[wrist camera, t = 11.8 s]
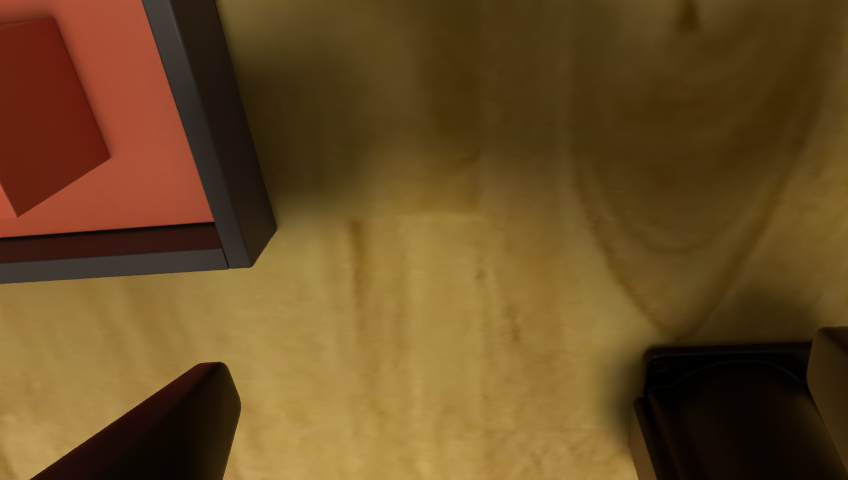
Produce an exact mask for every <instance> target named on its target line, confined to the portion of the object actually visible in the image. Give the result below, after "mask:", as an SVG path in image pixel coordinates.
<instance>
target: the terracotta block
mask: <svg viewBox="0 0 848 480" xmlns="http://www.w3.org/2000/svg"><path fill="white" fill-rule="evenodd" d="M109 159H110V156H109V153H108V151H107V148H106V146H105V143H104V141H103V138H102V136H101V133H100V131H99V128H98V126H97V123H96V121H95V118H94V116H93V113H92V111H91V108H90V106H89V103H88V101H87V98H86V96H85V94H84V91H83V89H82V86H81V84H80V81H79V79H78V76H77V74H76V71H75V69H74V66H73V64H72V61H71V59H70V56H69V54H68V51H67V49H66V46H65V44H64V41H63V39H62V37H61V34H60V32H59V29H58V27H57V24H56V22H55V19H54V18H52V17H51V18H43V19H35V20H28V21H20V22H12V23H5V24H0V219H12V218H18V217H20V216H21V215H23V214H24V213H26V212H28V211H29V210H31V209H32V208H34V207H35V206H37V205H38V204H40V203H42V202H43V201H45V200H46V199H48V198H49V197H51V196H53V195H54V194H56V193H57V192H59V191H60V190H62V189H63V188H65V187H67V186H68V185H70V184H71V183H73V182H74V181H76V180H77V179H79V178H81V177H82V176H84V175H85V174H87V173H88V172H90V171H92V170H93V169H95V168H96V167H98V166H99V165H101V164H102V163H104V162H106V161H107V160H109Z"/></svg>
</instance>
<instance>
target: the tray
mask: <svg viewBox="0 0 848 480" xmlns="http://www.w3.org/2000/svg"><path fill="white" fill-rule="evenodd" d="M51 17H52V18H54V19H55V22H56V24H57V27H58V29H59V32H60V34H61V37H62V39H63V41H64V44H65V46H66V49H67V51H68V54H69V56H70V59H71V61H72V64H73V66H74V69H75V71H76V74H77V76H78V79H79V81H80V84H81V86H82V89H83V91H84V94H85V96H86V98H87V101H88V103H89V106H90V108H91V111H92V113H93V116H94V118H95V121H96V123H97V126H98V128H99V131H100V133H101V136H102V138H103V141H104V143H105V146H106V148H107V151H108V153H109V156H110V159H109V160H107V161H106V162H104V163H102V164H101V165H99V166H98V167H96V168H95V169H93V170H92V171H90V172H88V173H87V174H85V175H84V176H82V177H81V178H79V179H77V180H76V181H74V182H73V183H71V184H70V185H68V186H67V187H65V188H63V189H62V190H60V191H59V192H57V193H56V194H54V195H53V196H51V197H49V198H48V199H46V200H45V201H43V202H42V203H40V204H38V205H37V206H35V207H34V208H32V209H31V210H29V211H28V212H26V213H24V214H23V215H21V216H20V217H18V218H12V219H0V284H6V283H21V282H37V281H53V280H69V279H84V278H100V277H116V276H132V275H147V274H163V273H179V272H195V271H210V270H226V269H229V268H231V269H235V268H250V267H252V266H253V265H254V264H255V262H256V260H257V259H258V257H259V256H260V254H261V253H262V251H263V250H264V248H265V247H266V245H267V244H268V242H269V241H270V239H271V238H272V237H273V235H274V234H275V232H276V230H277V229H276V226H275V222H274V218H273V215H272V211H271V207H270V204H269V200H268V196H267V193H266V189H265V185H264V182H263V178H262V175H261V171H260V167H259V164H258V160H257V156H256V153H255V149H254V145H253V142H252V138H251V134H250V131H249V127H248V123H247V120H246V116H245V112H244V109H243V105H242V101H241V98H240V94H239V91H238V87H237V83H236V80H235V76H234V72H233V69H232V65H231V61H230V58H229V54H228V50H227V47H226V43H225V39H224V36H223V32H222V28H221V25H220V21H219V18H218V14H217V10H216V7H215V3H214V0H0V24H5V23H12V22H20V21H28V20H35V19H43V18H51Z"/></svg>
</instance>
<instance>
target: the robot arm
mask: <svg viewBox="0 0 848 480" xmlns="http://www.w3.org/2000/svg"><path fill="white" fill-rule="evenodd" d="M659 360H661V361H662V362H661V363H658V364H654V363H655V362H656V361H659ZM240 412H241V402H240V397H239V395H238V392H237V390H236V387H235V384H234V382H233V379H232V377H231V374H230V371H229V369H228V367H227V366H226V365H225V364H224V363H222V362H208V363H200V364H197V365H196V366H194V367H193V368H191V369H190V370H188V371H187V372H186V373H184V374H183V375H181V376H180V377H178V378H177V379H175V380H174V381H172V382H171V383H170V384H168V385H167V386H165V387H164V388H162V389H161V390H159V391H158V392H156V393H155V394H154V395H152V396H151V397H149V398H148V399H146V400H145V401H143V402H142V403H140V404H139V405H138V406H136V407H135V408H133V409H132V410H130V411H129V412H127V413H126V414H125V415H123V416H122V417H120V418H119V419H117V420H116V421H114V422H113V423H111V424H110V425H109V426H107V427H106V428H104V429H103V430H101V431H100V432H98V433H97V434H95V435H94V436H93V437H91V438H90V439H88V440H87V441H85V442H84V443H82V444H81V445H79V446H78V447H77V448H75V449H74V450H72V451H71V452H69V453H68V454H66V455H65V456H63V457H62V458H61V459H59V460H58V461H56V462H55V463H53V464H52V465H50V466H49V467H47V468H46V469H45V470H43V471H42V472H40V473H39V474H37V475H36V476H34V477H33V478H31V479H30V480H223V476H224V473H225V469H226V465H227V461H228V458H229V454H230V450H231V446H232V443H233V439H234V435H235V431H236V428H237V424H238V420H239V416H240ZM629 448H630V451H631V455H632V458H633V462H634V465H635V468H636V472H637V475H638V479H639V480H848V326H839V327H823V328H820V329H819V330H817V331H816V333H815V335H814V338H813V342H800V343H775V344H750V345H726V346H701V347H676V348H656V349H652V350H650V351H648V352H647V353H646V354H645V355H644V358H643V366H642V379H641V392H640V397H636V398H635V399H634V400H633V402H632V405H631V420H630V435H629Z"/></svg>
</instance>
